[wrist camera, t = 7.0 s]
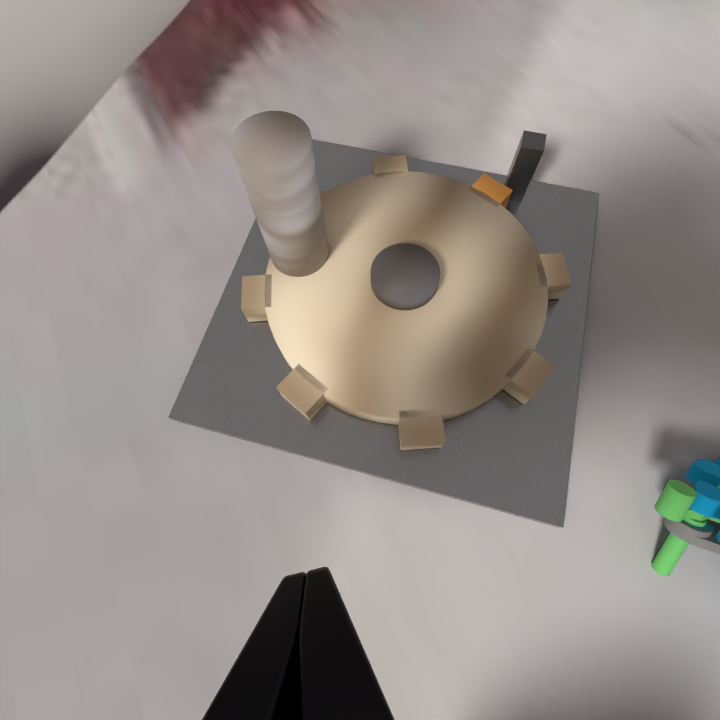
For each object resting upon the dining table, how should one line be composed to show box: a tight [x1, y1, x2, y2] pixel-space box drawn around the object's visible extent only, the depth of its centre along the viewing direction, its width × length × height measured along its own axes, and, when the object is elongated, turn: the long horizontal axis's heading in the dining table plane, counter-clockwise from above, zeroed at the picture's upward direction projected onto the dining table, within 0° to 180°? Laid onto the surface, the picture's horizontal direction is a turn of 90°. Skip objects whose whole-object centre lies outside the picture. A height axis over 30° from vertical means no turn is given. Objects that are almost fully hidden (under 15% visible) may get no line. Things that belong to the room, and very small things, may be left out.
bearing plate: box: [169, 131, 599, 527], centre depth 24 cm, size 20×20×4 cm
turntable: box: [230, 111, 572, 450], centre depth 21 cm, size 17×17×9 cm
